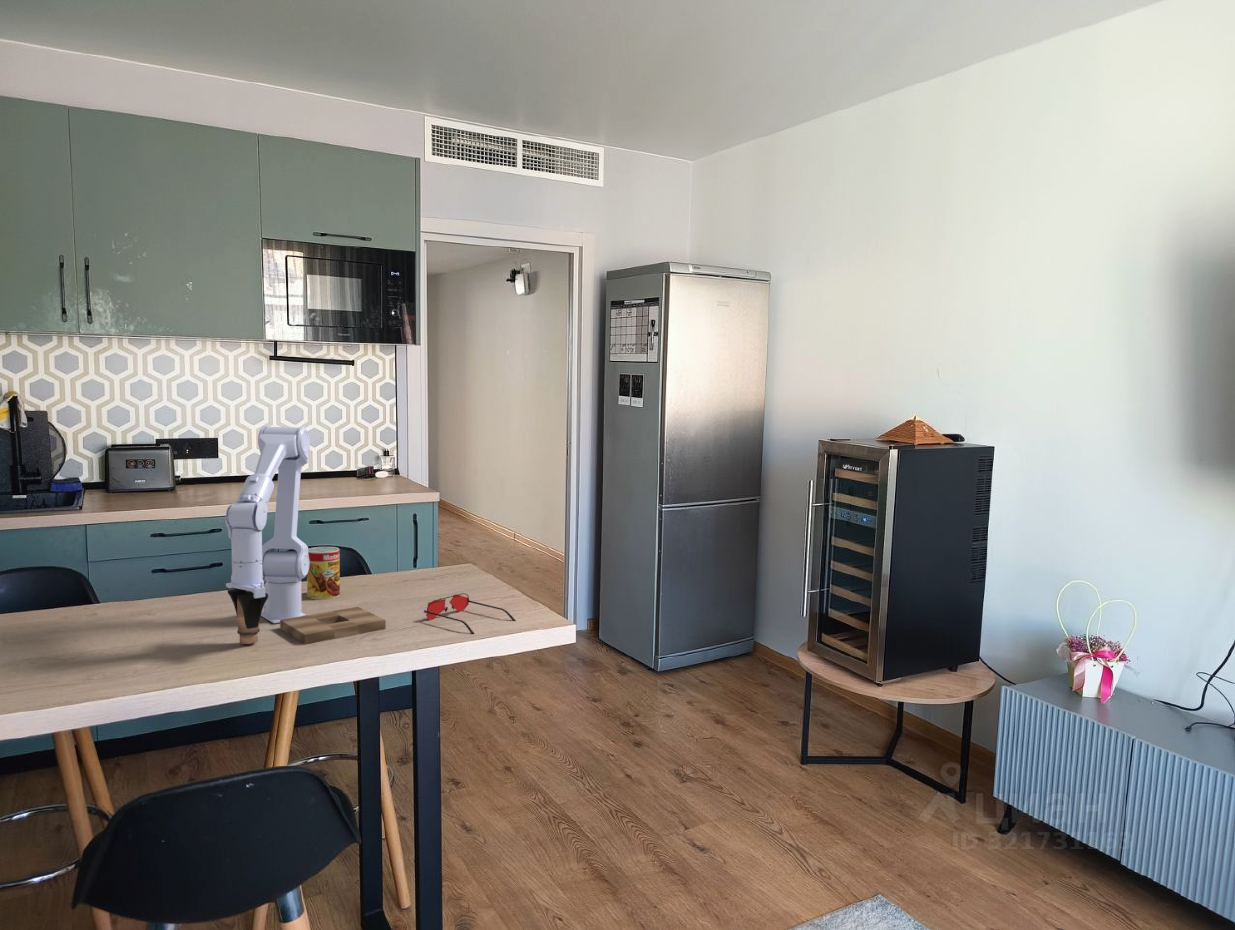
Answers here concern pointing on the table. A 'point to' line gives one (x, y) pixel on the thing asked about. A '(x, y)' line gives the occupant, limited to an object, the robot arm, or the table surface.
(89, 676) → the table surface
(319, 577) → the canned food
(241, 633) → the peg
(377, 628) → the board
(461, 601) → the glasses
